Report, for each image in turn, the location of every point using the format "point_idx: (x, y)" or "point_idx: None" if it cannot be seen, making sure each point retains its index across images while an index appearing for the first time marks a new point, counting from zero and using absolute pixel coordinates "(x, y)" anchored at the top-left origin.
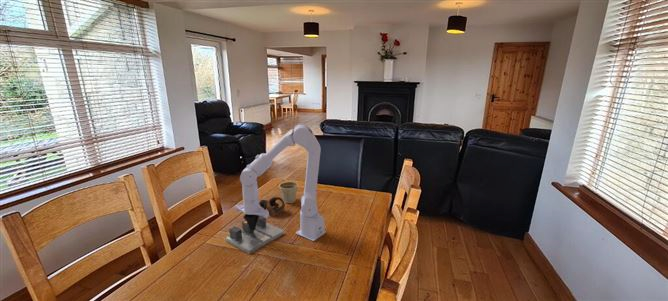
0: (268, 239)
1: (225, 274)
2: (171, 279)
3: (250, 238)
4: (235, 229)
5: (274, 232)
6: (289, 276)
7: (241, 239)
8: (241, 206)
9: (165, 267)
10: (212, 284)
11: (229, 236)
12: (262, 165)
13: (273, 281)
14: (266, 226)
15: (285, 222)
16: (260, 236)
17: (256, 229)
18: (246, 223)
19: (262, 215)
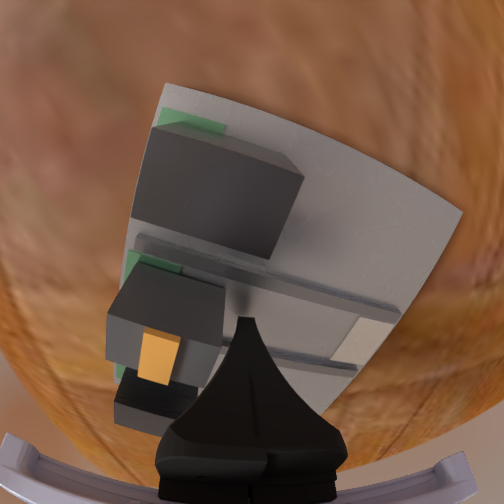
0: (384, 338)
1: None
2: (156, 474)
3: None
4: (155, 426)
5: (409, 262)
6: (456, 407)
7: None
8: (35, 492)
9: (99, 453)
10: None
11: (122, 375)
12: None
13: (418, 431)
14: (307, 189)
15: (404, 27)
16: (321, 334)
17: (244, 281)
18: (169, 377)
19: (402, 490)
